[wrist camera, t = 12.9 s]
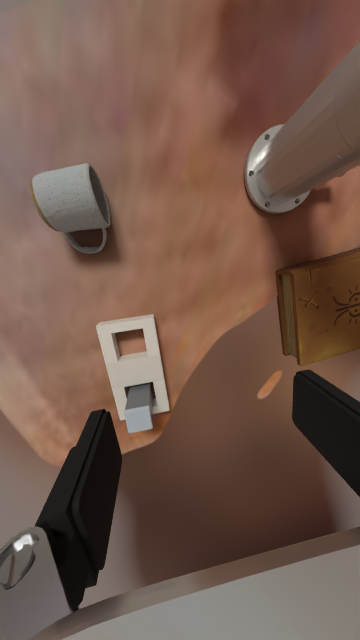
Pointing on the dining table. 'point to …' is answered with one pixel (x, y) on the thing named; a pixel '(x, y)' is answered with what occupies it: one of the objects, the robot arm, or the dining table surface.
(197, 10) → the dining table surface
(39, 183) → the ceramic mug
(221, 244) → the dining table surface
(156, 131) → the dining table surface
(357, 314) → the diary
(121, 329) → the jack panel
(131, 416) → the plug
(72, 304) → the dining table surface
